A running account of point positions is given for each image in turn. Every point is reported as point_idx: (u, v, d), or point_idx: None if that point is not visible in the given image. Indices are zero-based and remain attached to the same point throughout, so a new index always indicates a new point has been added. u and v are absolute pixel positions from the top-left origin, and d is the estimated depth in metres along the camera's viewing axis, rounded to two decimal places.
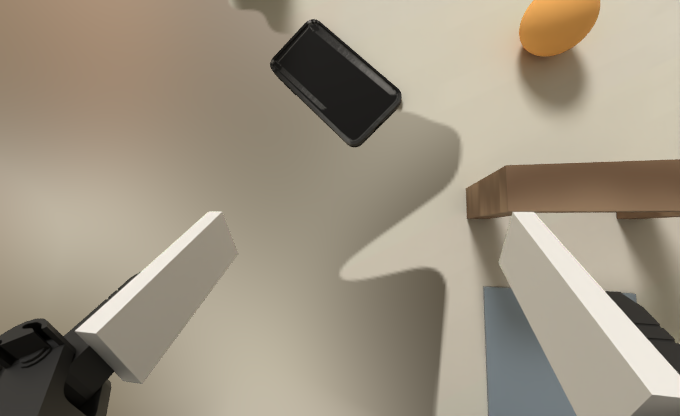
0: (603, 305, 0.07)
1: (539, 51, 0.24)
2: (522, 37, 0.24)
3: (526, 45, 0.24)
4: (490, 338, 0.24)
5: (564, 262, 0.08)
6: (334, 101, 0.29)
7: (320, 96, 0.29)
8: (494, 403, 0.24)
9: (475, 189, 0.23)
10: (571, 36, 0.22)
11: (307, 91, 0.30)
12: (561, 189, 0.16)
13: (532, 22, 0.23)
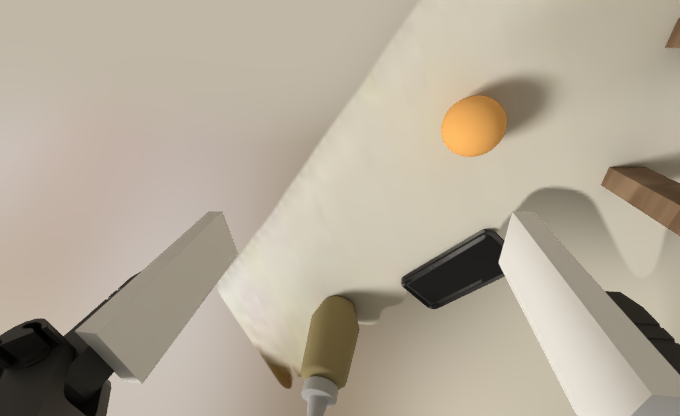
0: (603, 305, 0.07)
1: None
2: None
3: None
4: None
5: (564, 262, 0.08)
6: (477, 274, 0.36)
7: (470, 282, 0.37)
8: None
9: None
10: (506, 125, 0.23)
11: (462, 289, 0.38)
12: None
13: (478, 155, 0.25)
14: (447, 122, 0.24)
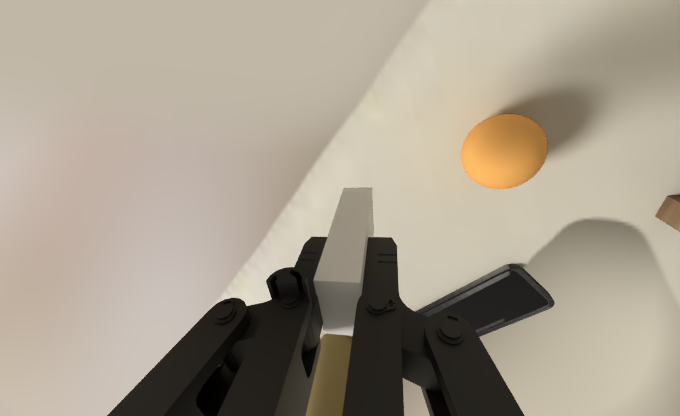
0: (357, 240, 0.10)
1: None
2: None
3: None
4: None
5: (358, 218, 0.11)
6: (498, 312, 0.31)
7: (490, 321, 0.32)
8: None
9: None
10: (546, 152, 0.18)
11: (481, 328, 0.33)
12: None
13: None
14: (470, 147, 0.19)
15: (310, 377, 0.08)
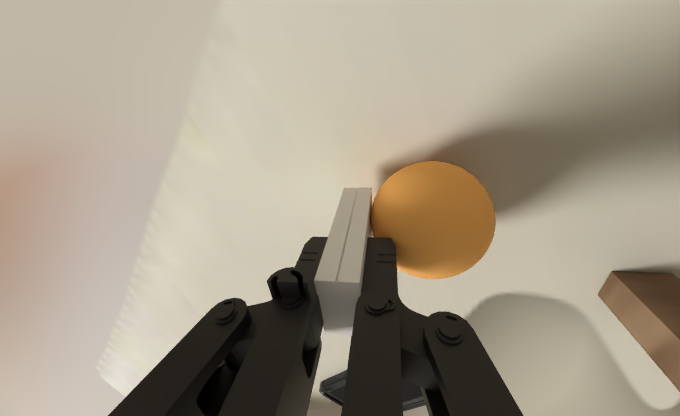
0: (356, 241, 0.10)
1: None
2: None
3: None
4: None
5: (358, 218, 0.11)
6: (419, 389, 0.25)
7: (411, 397, 0.26)
8: None
9: None
10: None
11: None
12: None
13: None
14: (405, 234, 0.10)
15: (311, 377, 0.08)
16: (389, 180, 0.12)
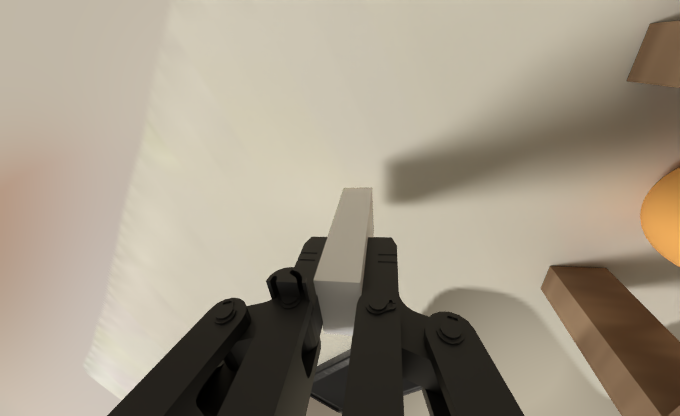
0: (357, 241, 0.10)
1: None
2: None
3: None
4: None
5: (358, 218, 0.11)
6: None
7: None
8: None
9: None
10: None
11: None
12: None
13: None
14: None
15: (310, 377, 0.08)
16: None
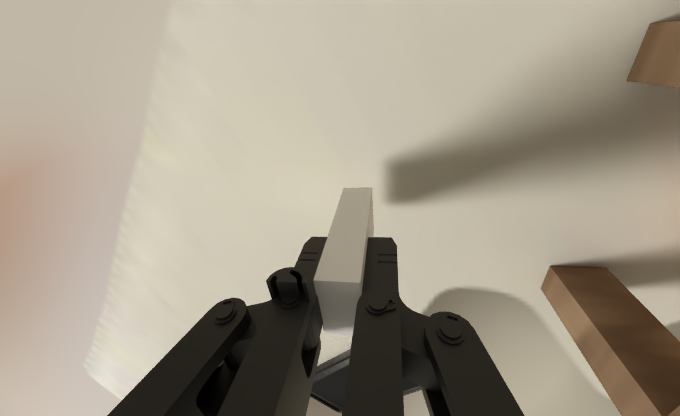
0: (357, 241, 0.10)
1: None
2: None
3: None
4: None
5: (358, 218, 0.11)
6: None
7: None
8: None
9: None
10: None
11: None
12: None
13: None
14: None
15: (310, 377, 0.08)
16: None
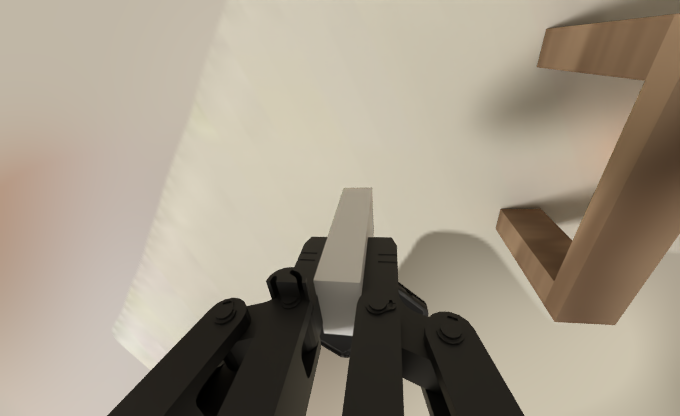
0: (357, 241, 0.10)
1: None
2: None
3: None
4: None
5: (358, 218, 0.11)
6: None
7: None
8: None
9: None
10: None
11: None
12: (610, 285, 0.13)
13: None
14: None
15: (310, 377, 0.08)
16: None
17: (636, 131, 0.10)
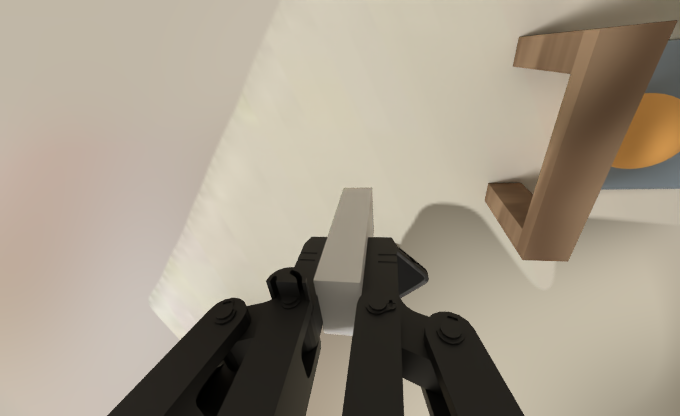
0: (357, 241, 0.10)
1: None
2: None
3: None
4: (656, 183, 0.24)
5: (358, 218, 0.11)
6: None
7: None
8: None
9: None
10: None
11: None
12: (560, 226, 0.18)
13: None
14: None
15: (310, 377, 0.08)
16: (637, 109, 0.18)
17: (566, 108, 0.15)
